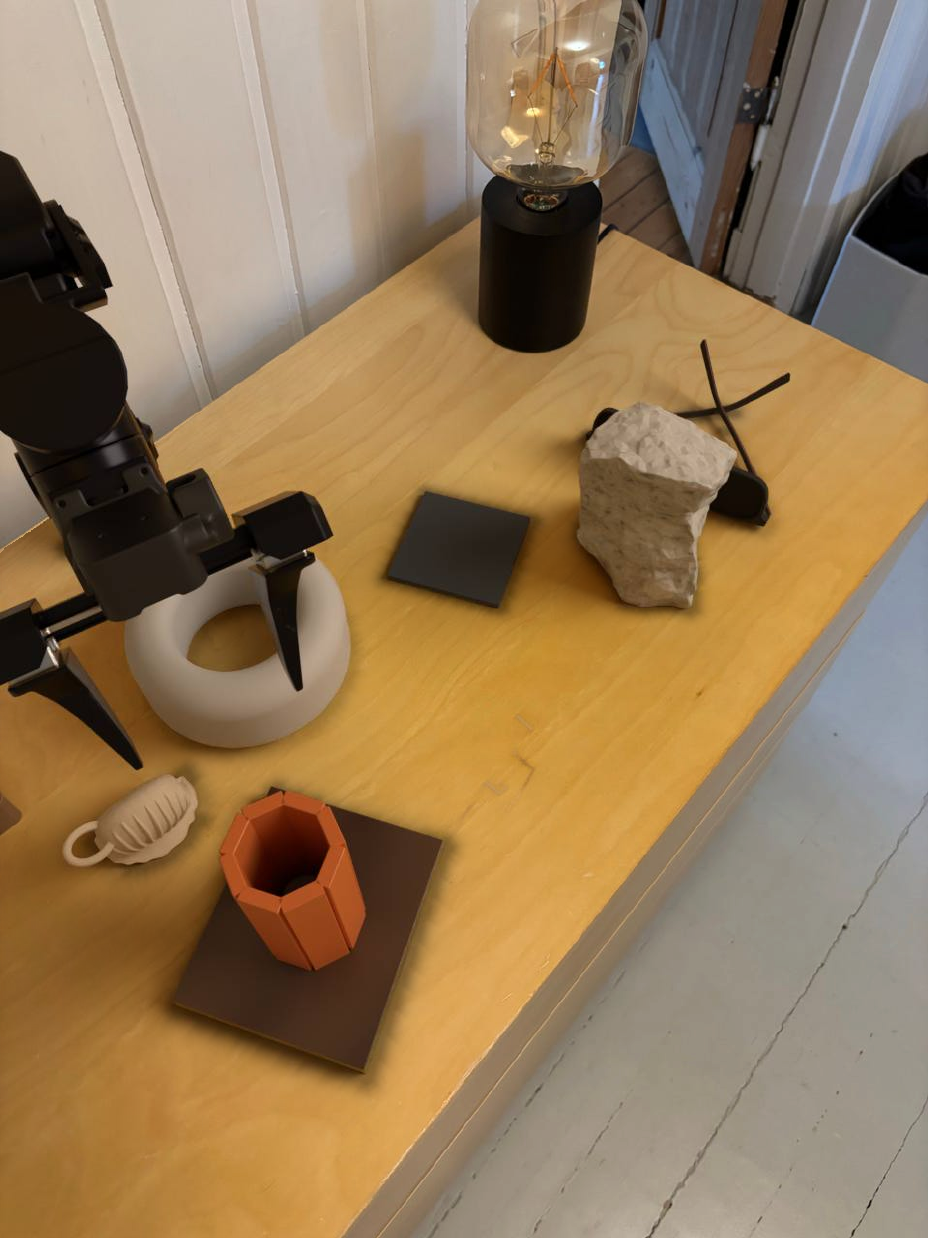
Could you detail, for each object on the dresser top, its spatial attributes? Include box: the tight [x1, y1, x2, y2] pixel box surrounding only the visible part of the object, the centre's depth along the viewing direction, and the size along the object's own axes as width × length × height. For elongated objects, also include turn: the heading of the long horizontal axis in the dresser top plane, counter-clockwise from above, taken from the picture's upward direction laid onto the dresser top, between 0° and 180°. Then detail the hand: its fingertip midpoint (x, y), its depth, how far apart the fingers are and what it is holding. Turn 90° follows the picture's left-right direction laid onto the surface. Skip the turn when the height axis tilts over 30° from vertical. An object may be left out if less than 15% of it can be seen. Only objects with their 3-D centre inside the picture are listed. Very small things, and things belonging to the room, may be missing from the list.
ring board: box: [171, 786, 445, 1075], centre depth 56 cm, size 12×14×6 cm
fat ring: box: [123, 556, 352, 749], centre depth 66 cm, size 15×15×7 cm
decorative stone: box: [575, 400, 738, 610], centre depth 68 cm, size 10×9×15 cm
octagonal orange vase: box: [218, 790, 366, 971], centre depth 52 cm, size 6×6×12 cm
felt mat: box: [386, 490, 531, 609], centre depth 74 cm, size 9×9×1 cm
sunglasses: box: [585, 338, 791, 528], centre depth 78 cm, size 17×14×5 cm
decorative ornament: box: [61, 773, 199, 868], centre depth 59 cm, size 4×8×5 cm, turn 129°
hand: (221, 727), depth 51 cm, fingers open, 9 cm apart
